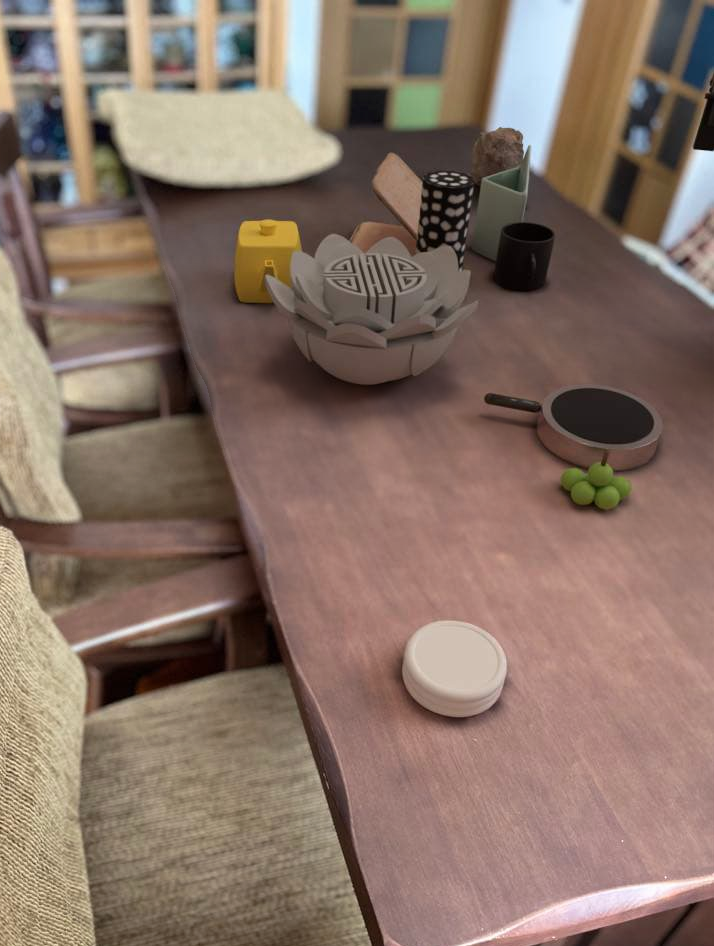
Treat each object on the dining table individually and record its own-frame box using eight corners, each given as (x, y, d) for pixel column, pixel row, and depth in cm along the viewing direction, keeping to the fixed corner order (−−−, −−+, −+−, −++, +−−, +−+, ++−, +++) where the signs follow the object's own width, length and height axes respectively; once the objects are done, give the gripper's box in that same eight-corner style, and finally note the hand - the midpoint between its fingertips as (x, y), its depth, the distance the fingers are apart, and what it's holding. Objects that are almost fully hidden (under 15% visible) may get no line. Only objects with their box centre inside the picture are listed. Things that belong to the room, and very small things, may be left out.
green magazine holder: (471, 233, 168) (486, 129, 155) (510, 236, 167) (528, 131, 154) (471, 266, 156) (488, 156, 143) (514, 269, 155) (534, 159, 142)
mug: (501, 298, 146) (510, 248, 140) (488, 269, 155) (496, 221, 149) (554, 298, 146) (565, 248, 140) (538, 269, 155) (548, 221, 149)
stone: (532, 213, 177) (546, 138, 167) (488, 215, 176) (500, 140, 166) (499, 178, 193) (510, 108, 183) (458, 180, 192) (467, 109, 182)
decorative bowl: (264, 321, 138) (262, 233, 128) (438, 318, 140) (450, 230, 130) (270, 422, 116) (268, 324, 106) (478, 416, 118) (495, 319, 108)
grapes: (628, 492, 105) (645, 444, 100) (627, 518, 101) (644, 470, 96) (559, 479, 107) (572, 431, 102) (556, 505, 103) (569, 456, 98)
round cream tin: (502, 727, 78) (508, 704, 76) (397, 711, 79) (400, 688, 77) (502, 647, 85) (507, 625, 83) (406, 634, 86) (409, 611, 84)
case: (445, 281, 151) (456, 192, 140) (334, 267, 155) (337, 179, 144) (460, 239, 166) (472, 155, 155) (359, 227, 170) (363, 145, 159)
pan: (657, 417, 118) (664, 395, 116) (653, 481, 107) (662, 458, 104) (490, 386, 124) (494, 365, 121) (470, 444, 112) (474, 422, 110)
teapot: (304, 315, 140) (305, 247, 132) (232, 315, 140) (228, 247, 132) (303, 266, 155) (303, 202, 147) (237, 266, 155) (234, 202, 147)
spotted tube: (465, 291, 148) (482, 176, 134) (446, 309, 142) (462, 191, 129) (423, 281, 151) (435, 167, 138) (403, 298, 146) (414, 181, 132)
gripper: (730, -63, 106) (674, 133, 122) (738, -51, 97) (676, 160, 113) (792, -61, 105) (727, 138, 120) (807, -48, 95) (734, 165, 111)
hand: (703, 148), depth 116 cm, fingers closed
